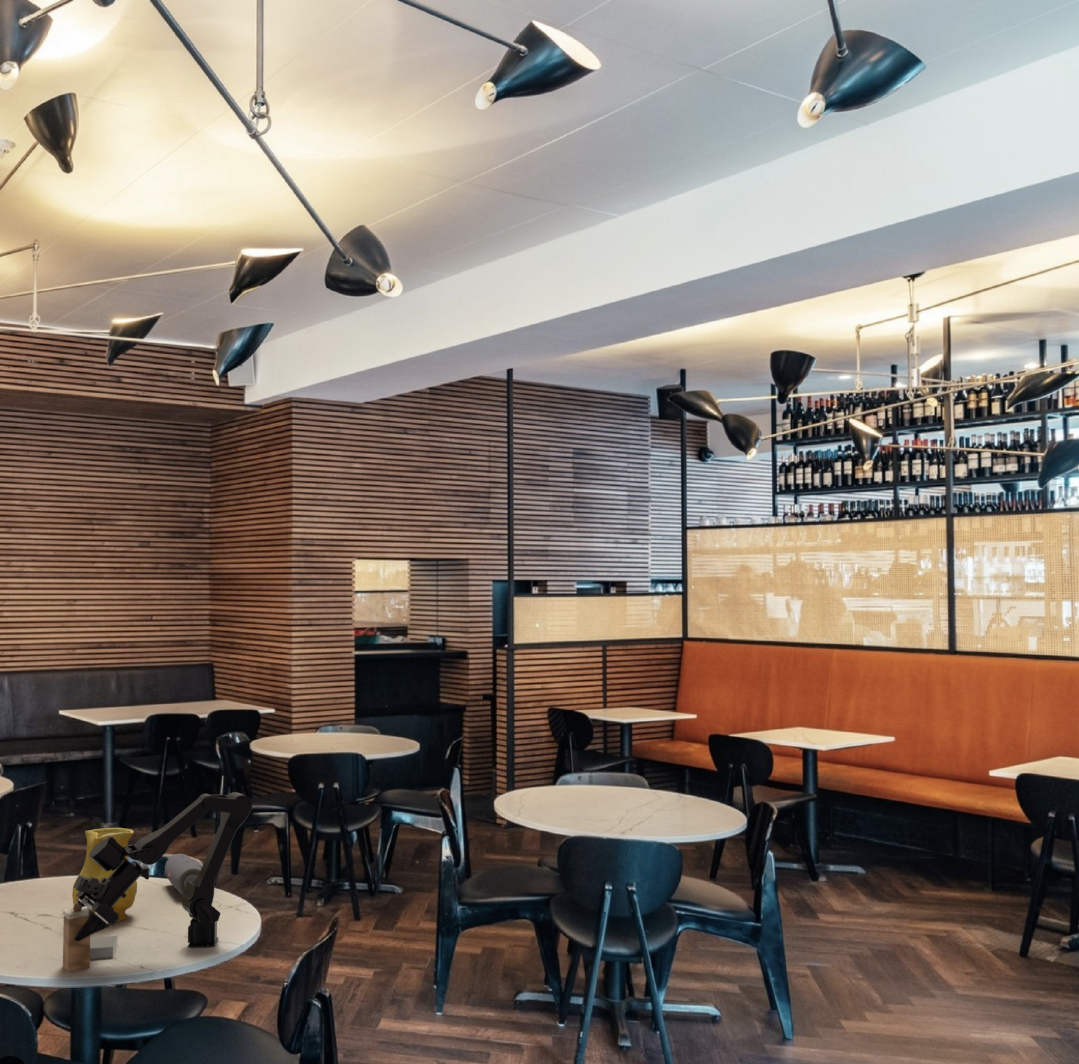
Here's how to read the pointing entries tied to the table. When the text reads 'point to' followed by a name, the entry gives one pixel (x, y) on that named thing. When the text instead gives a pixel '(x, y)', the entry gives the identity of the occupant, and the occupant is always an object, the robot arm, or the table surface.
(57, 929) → the table surface
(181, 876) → the bluetooth speaker
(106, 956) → the stone block
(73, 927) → the box
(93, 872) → the pitcher
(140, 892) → the table surface
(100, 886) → the robot arm
